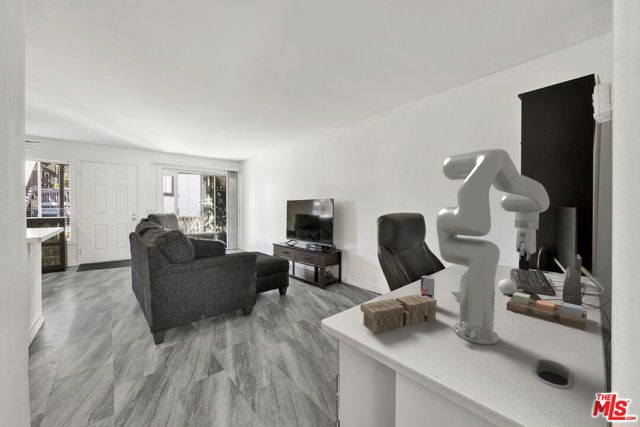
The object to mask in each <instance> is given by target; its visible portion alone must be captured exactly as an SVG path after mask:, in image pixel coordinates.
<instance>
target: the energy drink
mask: <svg viewBox="0 0 640 427" xmlns="http://www.w3.org/2000/svg"><path fill="white" fill-rule="evenodd" d="M420 295H421V296H428V297H430V298H433V299H435V277H433V276H430V275H421V277H420Z"/></svg>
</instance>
